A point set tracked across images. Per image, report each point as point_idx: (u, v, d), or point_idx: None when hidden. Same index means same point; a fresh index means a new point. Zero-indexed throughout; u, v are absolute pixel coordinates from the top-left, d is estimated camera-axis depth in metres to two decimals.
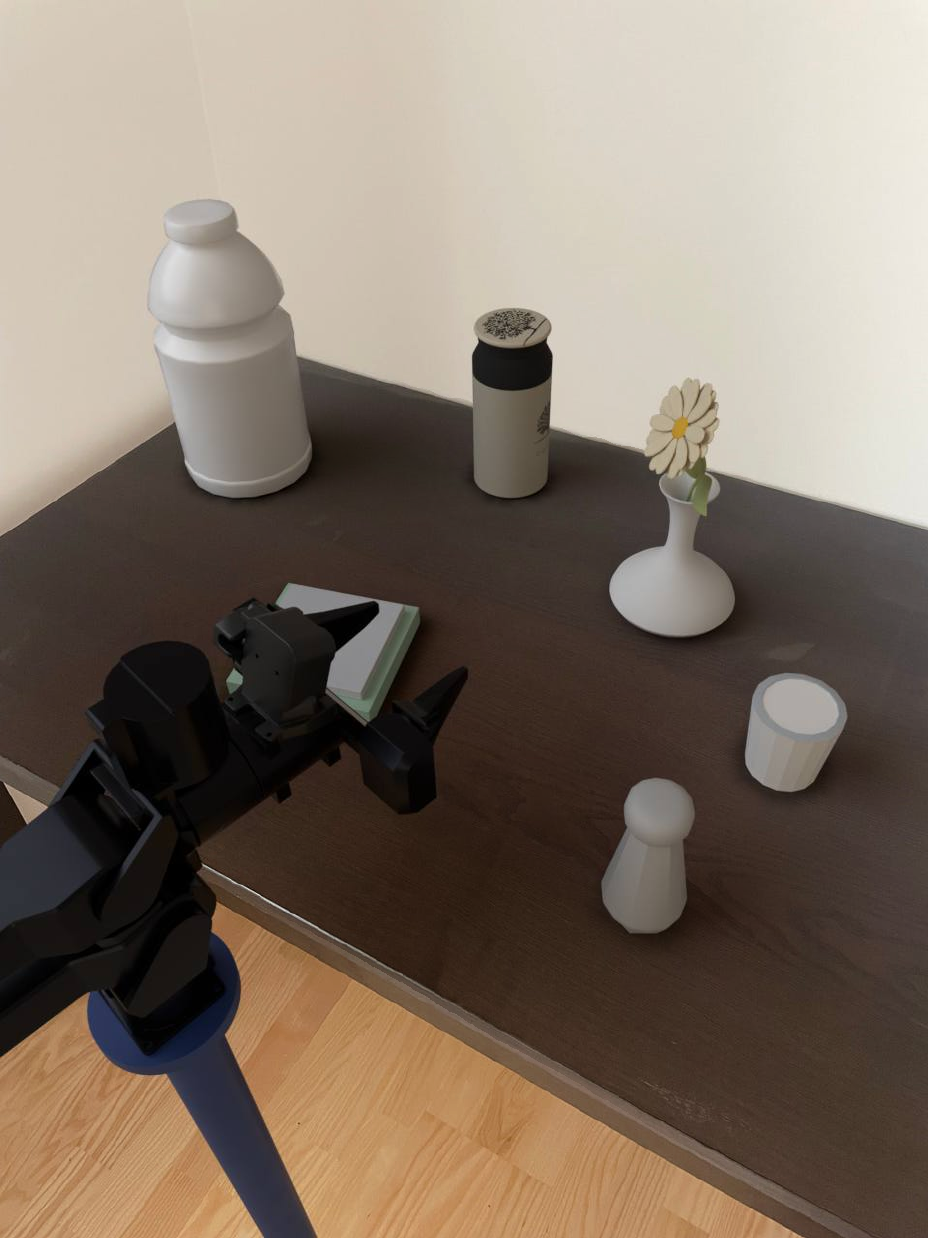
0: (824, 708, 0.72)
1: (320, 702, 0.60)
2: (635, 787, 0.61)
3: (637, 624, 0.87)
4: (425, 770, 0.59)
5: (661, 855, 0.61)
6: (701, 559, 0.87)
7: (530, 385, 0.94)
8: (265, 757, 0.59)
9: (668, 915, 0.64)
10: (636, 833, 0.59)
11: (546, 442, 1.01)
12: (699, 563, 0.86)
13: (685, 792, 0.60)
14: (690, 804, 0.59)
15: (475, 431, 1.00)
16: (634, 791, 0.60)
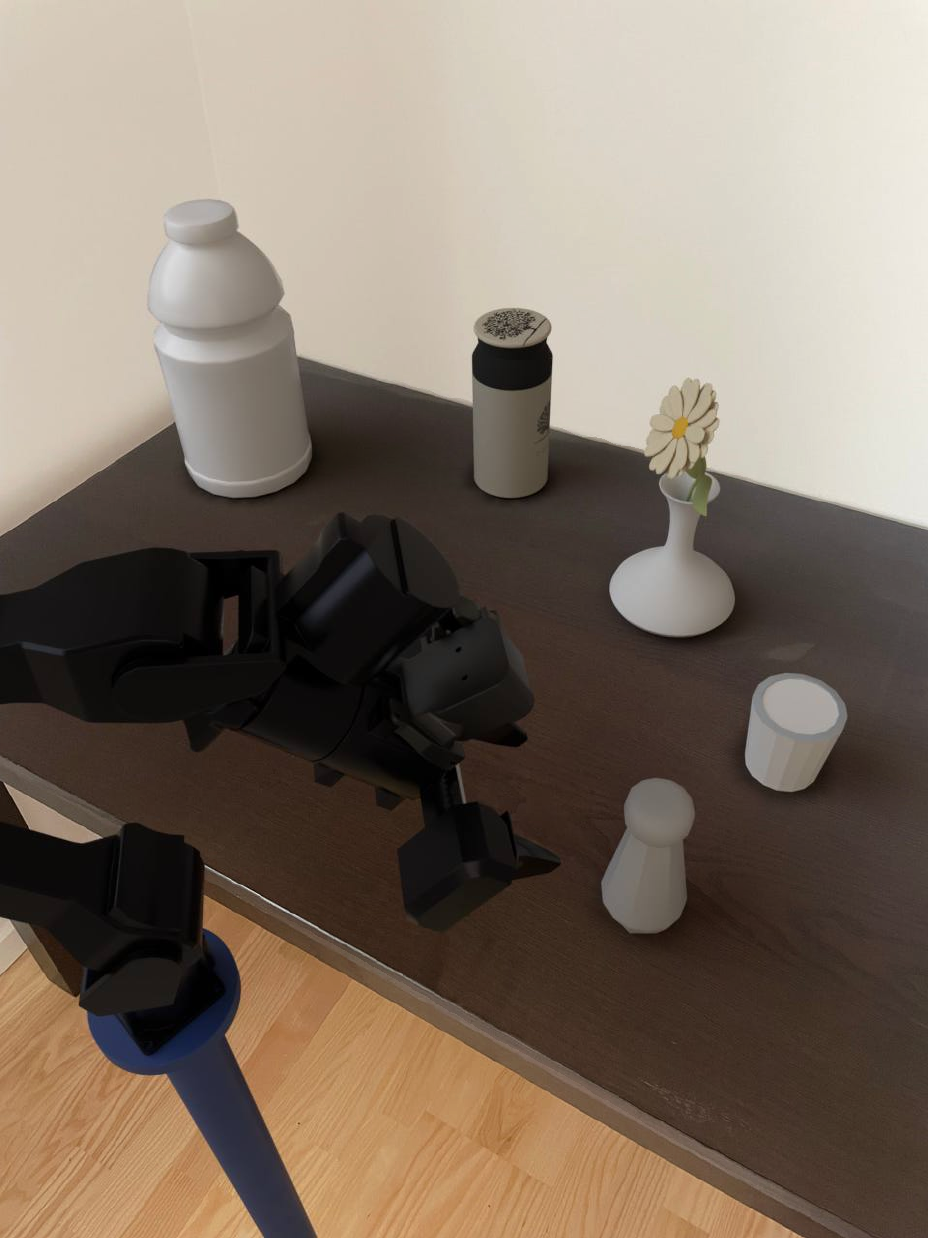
0: (824, 708, 0.72)
1: (454, 743, 0.50)
2: (635, 787, 0.61)
3: (637, 624, 0.87)
4: (478, 896, 0.47)
5: (661, 855, 0.61)
6: (701, 559, 0.87)
7: (530, 385, 0.94)
8: (369, 728, 0.48)
9: (668, 915, 0.64)
10: (636, 833, 0.59)
11: (546, 442, 1.01)
12: (699, 563, 0.86)
13: (685, 792, 0.60)
14: (690, 804, 0.59)
15: (475, 431, 1.00)
16: (634, 791, 0.60)
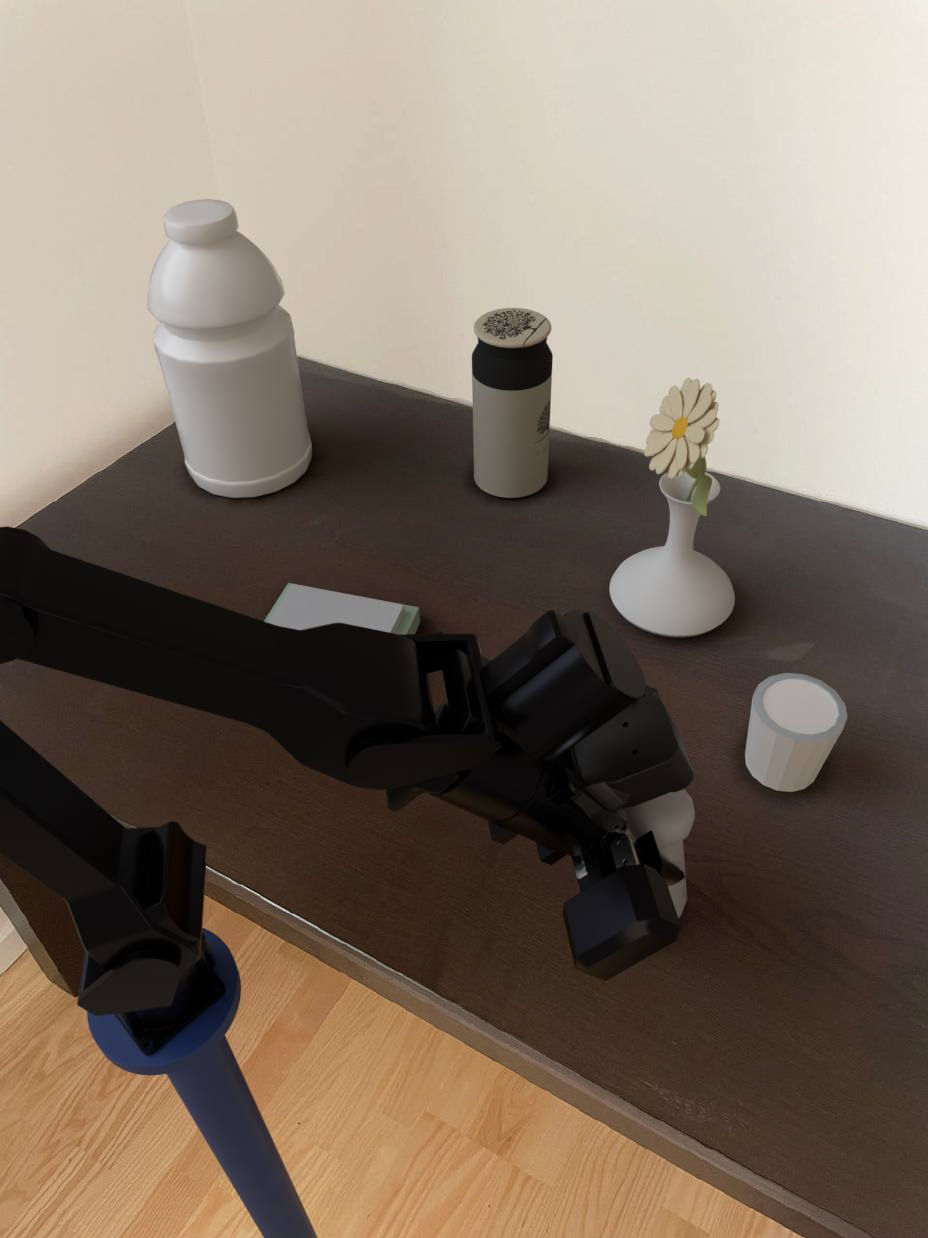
0: (824, 708, 0.72)
1: None
2: None
3: (637, 624, 0.87)
4: (645, 950, 0.52)
5: (661, 855, 0.61)
6: (701, 559, 0.87)
7: (530, 385, 0.94)
8: (548, 795, 0.54)
9: None
10: (636, 833, 0.59)
11: (546, 442, 1.01)
12: (699, 563, 0.86)
13: (685, 792, 0.60)
14: (690, 804, 0.59)
15: (475, 431, 1.00)
16: None
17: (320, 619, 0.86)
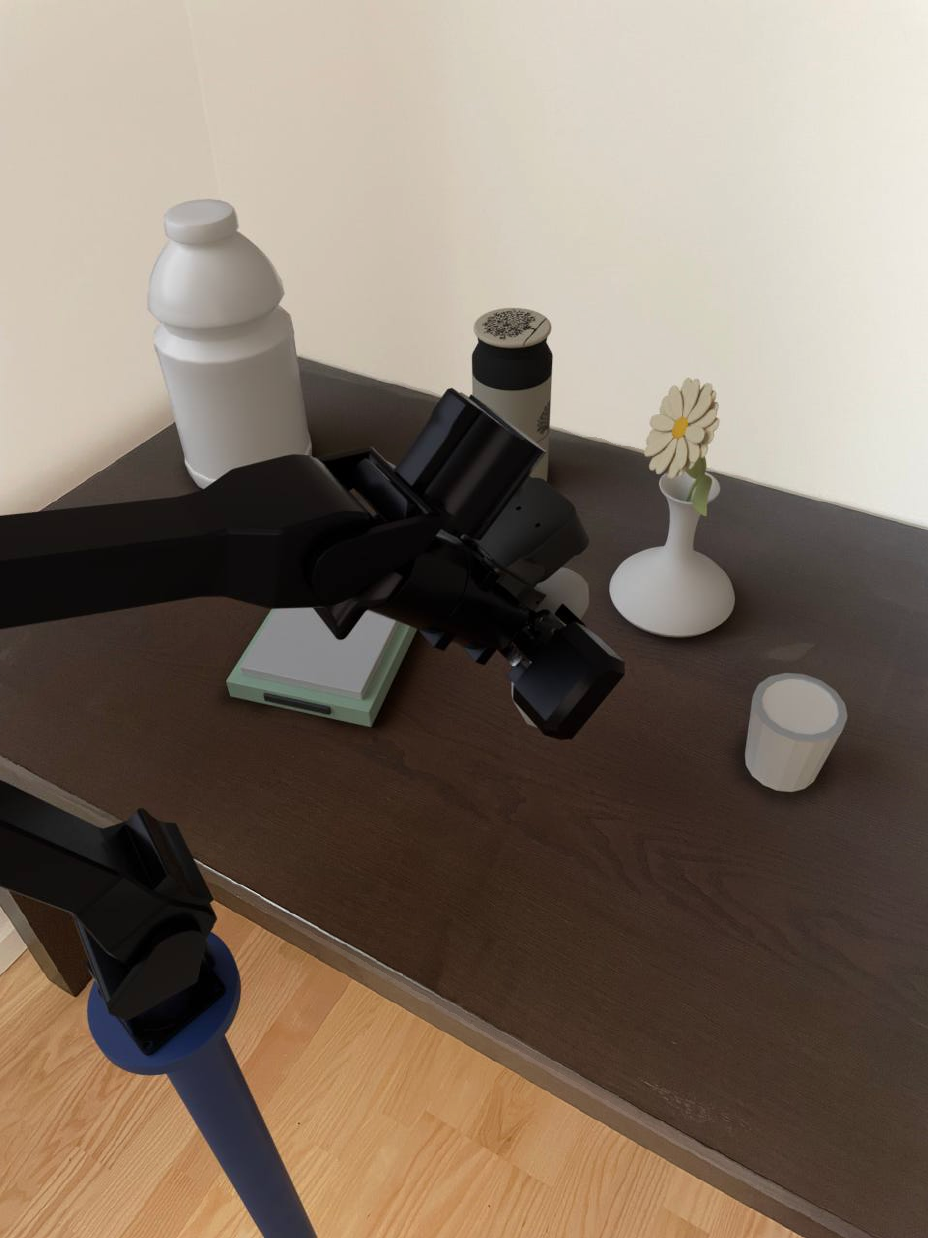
0: (824, 708, 0.72)
1: (534, 585, 0.59)
2: None
3: (637, 624, 0.87)
4: (601, 693, 0.57)
5: None
6: (701, 559, 0.87)
7: (530, 385, 0.94)
8: (477, 583, 0.56)
9: None
10: None
11: (546, 442, 1.01)
12: (699, 563, 0.86)
13: None
14: (582, 579, 0.65)
15: None
16: None
17: (320, 619, 0.86)
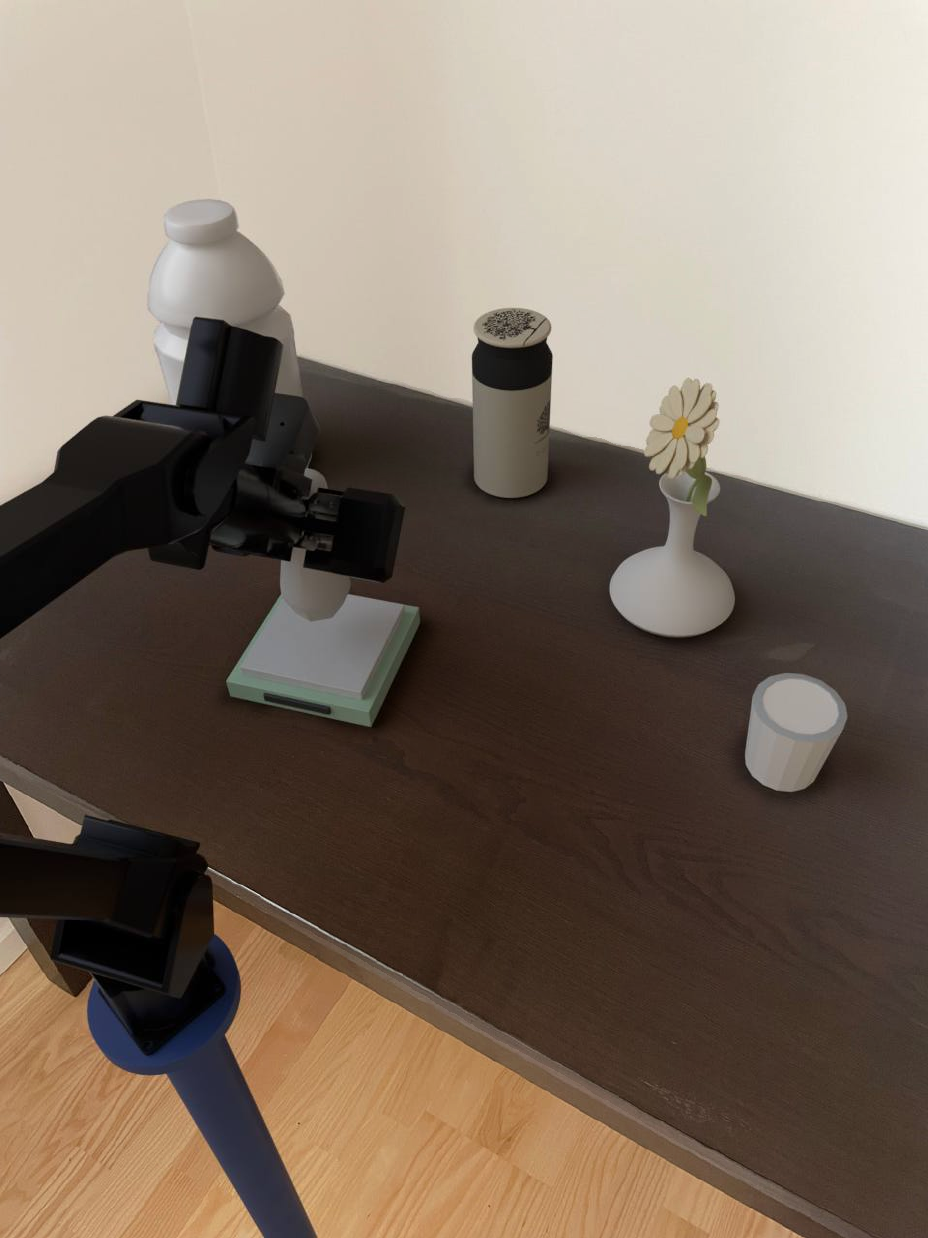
0: (824, 708, 0.72)
1: None
2: None
3: (637, 624, 0.87)
4: (398, 527, 0.69)
5: None
6: (701, 559, 0.87)
7: (530, 385, 0.94)
8: (270, 484, 0.64)
9: None
10: None
11: (546, 442, 1.01)
12: (699, 563, 0.86)
13: None
14: (312, 469, 0.74)
15: (475, 431, 1.00)
16: None
17: None
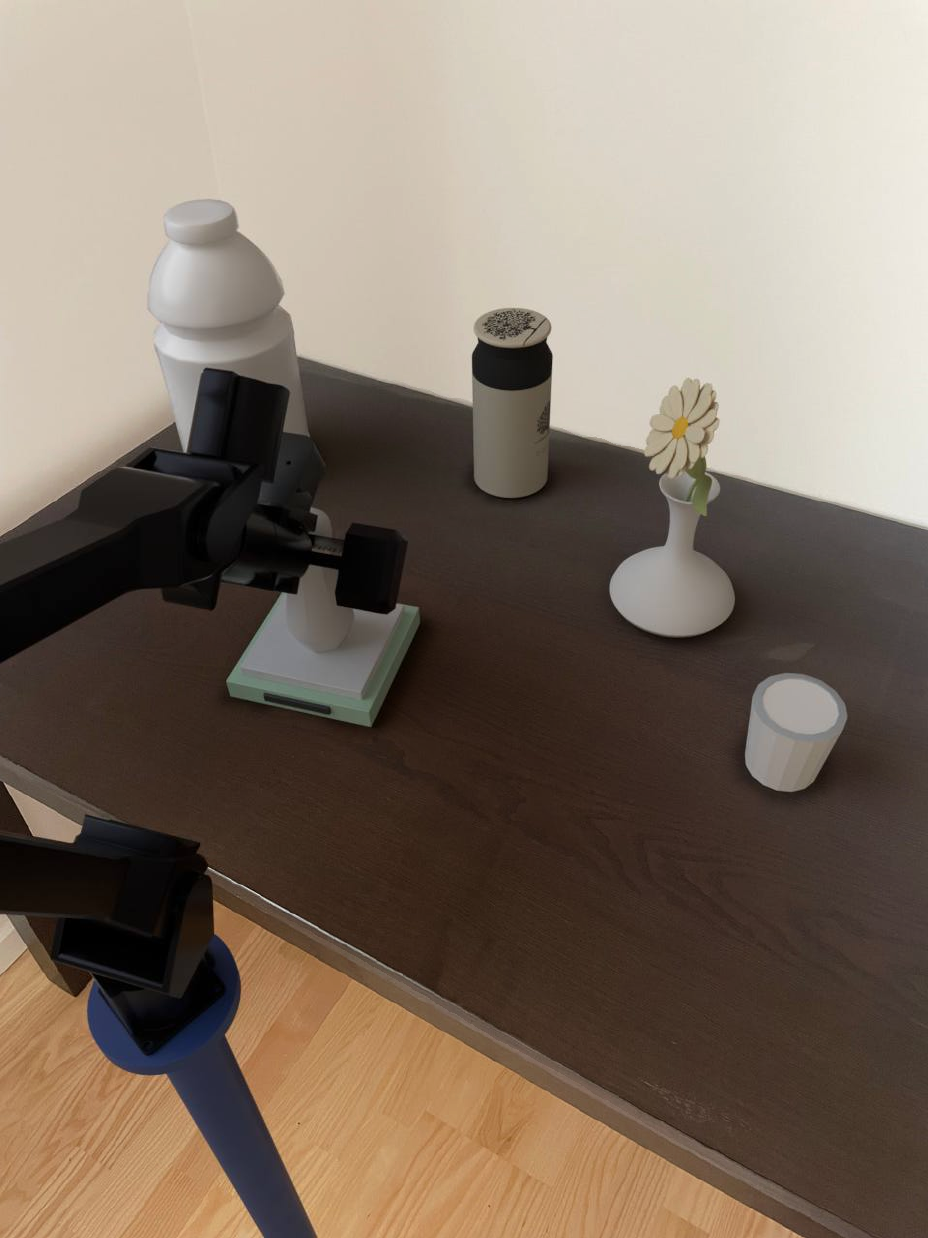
0: (824, 708, 0.72)
1: None
2: None
3: (637, 624, 0.87)
4: (401, 561, 0.71)
5: None
6: (701, 559, 0.87)
7: (530, 385, 0.94)
8: (278, 523, 0.66)
9: None
10: None
11: (546, 442, 1.01)
12: (699, 563, 0.86)
13: None
14: None
15: (475, 431, 1.00)
16: None
17: None
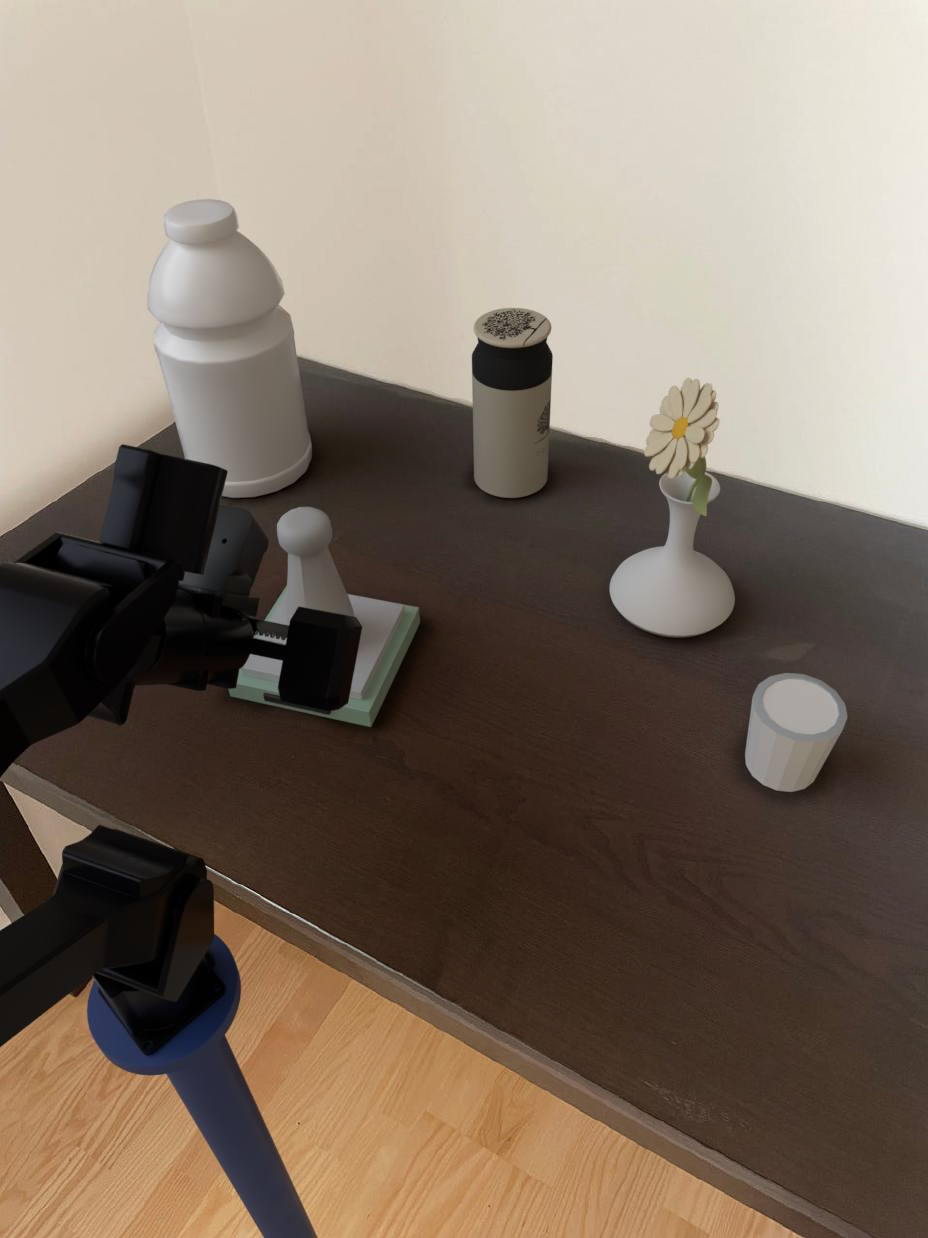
0: (824, 708, 0.72)
1: None
2: (280, 527, 0.75)
3: (637, 624, 0.87)
4: (354, 650, 0.62)
5: (327, 557, 0.78)
6: (701, 559, 0.87)
7: (530, 385, 0.94)
8: (209, 613, 0.58)
9: (350, 605, 0.82)
10: (310, 549, 0.75)
11: (546, 442, 1.01)
12: (699, 563, 0.86)
13: (305, 507, 0.77)
14: None
15: (475, 431, 1.00)
16: (283, 529, 0.75)
17: None
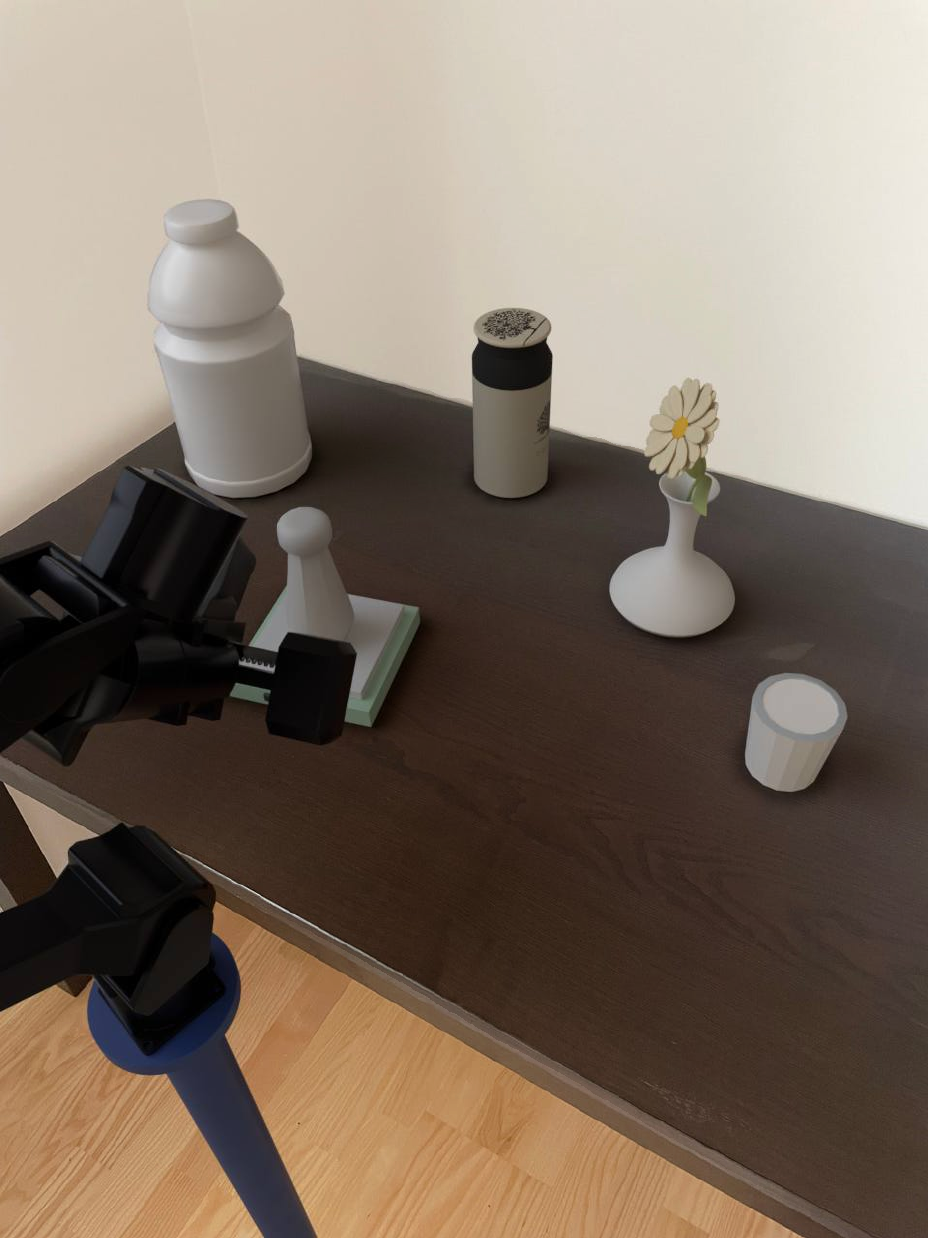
0: (824, 708, 0.72)
1: None
2: (280, 528, 0.75)
3: (637, 624, 0.87)
4: (348, 679, 0.58)
5: (327, 557, 0.78)
6: (701, 559, 0.87)
7: (530, 385, 0.94)
8: (189, 642, 0.53)
9: (350, 605, 0.82)
10: (310, 549, 0.75)
11: (546, 442, 1.01)
12: (699, 563, 0.86)
13: (305, 507, 0.77)
14: None
15: (475, 431, 1.00)
16: (283, 529, 0.75)
17: None
